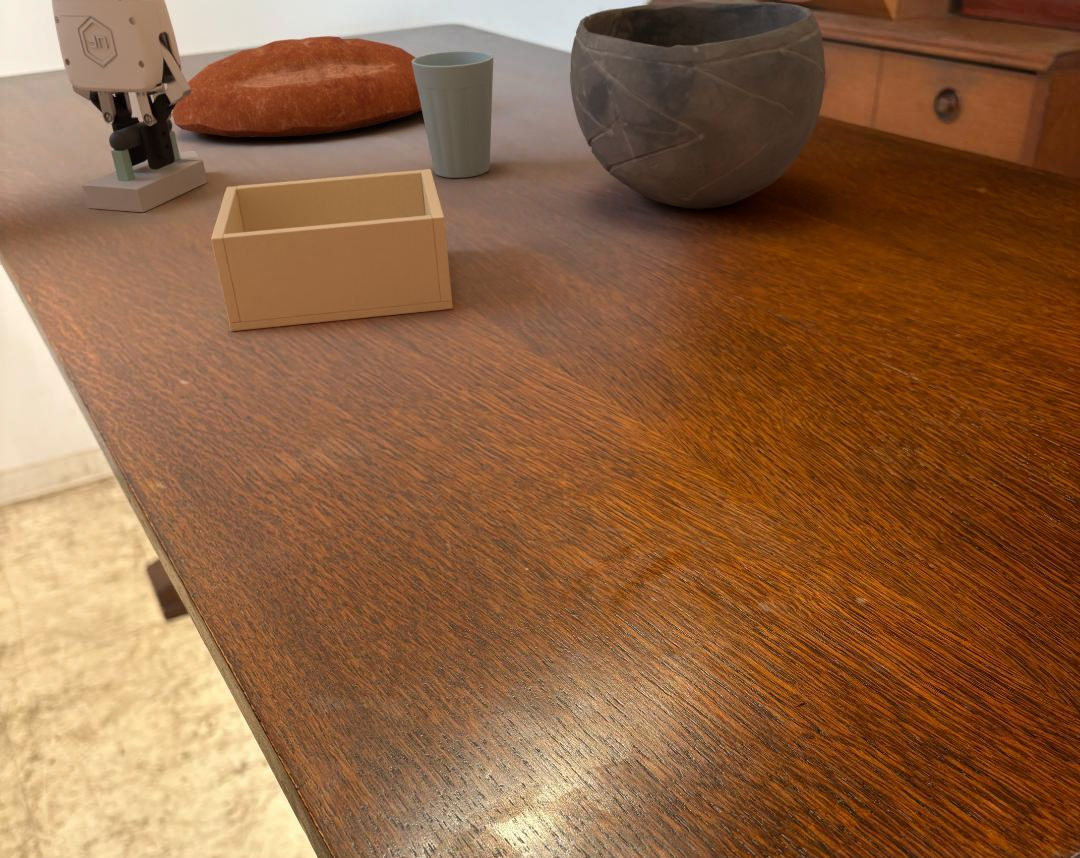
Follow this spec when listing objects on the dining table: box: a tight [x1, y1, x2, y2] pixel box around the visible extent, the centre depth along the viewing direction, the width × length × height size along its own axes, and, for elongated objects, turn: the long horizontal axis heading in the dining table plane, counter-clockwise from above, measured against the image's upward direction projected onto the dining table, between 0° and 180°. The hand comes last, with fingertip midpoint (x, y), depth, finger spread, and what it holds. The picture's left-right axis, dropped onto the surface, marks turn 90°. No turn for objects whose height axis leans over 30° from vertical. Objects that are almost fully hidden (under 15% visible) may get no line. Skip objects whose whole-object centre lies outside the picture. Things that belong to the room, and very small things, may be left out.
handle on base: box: [82, 118, 208, 213], centre depth 105 cm, size 13×6×6 cm, turn 159°
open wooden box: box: [210, 168, 454, 332], centre depth 80 cm, size 16×13×7 cm
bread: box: [171, 35, 422, 138], centre depth 127 cm, size 23×32×9 cm
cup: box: [412, 50, 494, 179], centre depth 105 cm, size 8×8×10 cm
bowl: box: [569, 1, 826, 210], centre depth 92 cm, size 21×21×15 cm
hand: (148, 163), depth 105 cm, fingers closed
